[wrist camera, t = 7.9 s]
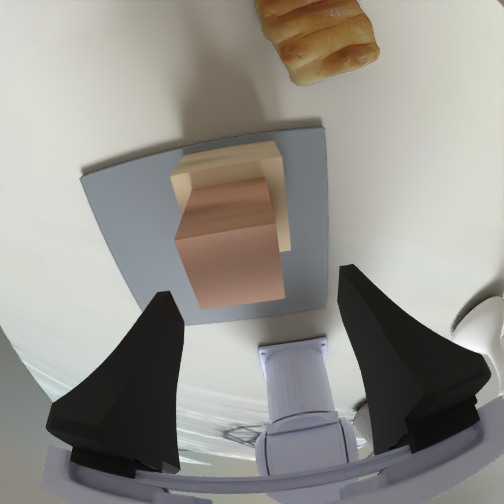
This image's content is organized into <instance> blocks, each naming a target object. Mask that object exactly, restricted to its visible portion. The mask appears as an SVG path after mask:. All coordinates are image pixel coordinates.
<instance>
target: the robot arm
mask: <svg viewBox="0 0 504 504" xmlns="http://www.w3.org/2000/svg"><path fill="white" fill-rule="evenodd" d="M337 302H338V305H339V309H340V313H341V317H342V321H343V324H344V326H345V329H346V332H347V334H348V337H349V340H350V342H351V345H352V347H353V350H354V353H355V355H356V358H357V361H358V364H359V367H360V370H361V374H362V379H363V383H364V387H365V392H366V397H367V403H368V408H369V415H370V421H371V429H372V438H373V449H374V456H372V457H369V458H365V459H362V460H358V449H357V443H356V437H355V433H354V430H353V426H352V424H351V422H350V421H349V420H347V419H346V418H345V417H343V418H340V419H339V417H338V412H337V411H335V408H334V404H333V399H332V394H331V390H330V385H329V381H328V376H327V372H326V367H325V361H326V352H327V343H328V341H327V338H325V337H323V338H317V339H311V340H305V341H299V342H292V343H285V344H278V345H271V346H263V347H260V348H258V353H259V357H260V361H261V365H262V369H263V373H264V377H265V381H266V385H267V395H268V408H269V420H270V424H267V425H266V428H267V432H262V433H261V434H260V436H259V437H258V438H257V441H256V450H255V452H256V464H257V469H258V473H259V475H260V476H257V477H256V476H255V477H195V476H181V475H171V474H176V473H177V472H179V471H180V462H179V454H178V445H177V431H176V392H177V383H178V376H179V370H180V363H181V357H182V351H183V344H184V323H185V321H184V319H183V317H182V315H181V313H180V311H179V309H178V307H177V305H176V303H175V300H174V298H173V296H172V294H171V292H170V291H161V292H157V293H156V294H155V296H154V297H153V298H152V300H151V301H150V303H149V304H148V305H147V307H146V308H145V310H144V311H143V313H142V314H141V315H140V317H139V318H138V320H137V321H136V322H135V324H134V325H133V327H132V328H131V329H130V331H129V332H128V333H127V334H126V336H125V337H124V338H123V340H122V341H121V342H120V344H119V345H118V346H117V347H116V348H115V350H114V351H113V352H112V353H111V354H110V355H109V356H108V357H107V359H106V360H105V361H104V362H103V363H102V364H101V365H100V366H99V367H98V368H97V369H96V370H95V371H93V372H92V373H91V374H90V375H89V376H88V377H87V378H86V379H85V380H84V381H82V382H81V383H80V384H79V385H78V386H76V387H75V388H74V389H72V390H71V391H70V392H68V393H67V394H66V395H64V396H63V397H61V398H60V399H58V400H57V401H55V402H54V403H52V406H51V409H50V413H49V417H48V420H47V424H46V429H47V431H48V432H50V433H51V434H52V435H54V436H55V437H57V438H59V439H60V440H62V441H64V442H66V443H67V444H69V445H71V446H72V447H73V449H72V452H71V451H69V450H66V449H64V448H61V447H58V446H55V445H52V444H49V445H48V450H47V454H46V459H45V464H44V470H43V476H42V482H41V488H42V489H44V490H46V491H48V492H50V493H52V494H54V495H56V496H58V497H60V498H62V499H64V500H66V501H68V502H70V503H72V504H212V500H209V499H201V498H196V497H193V496H185V495H177V494H171V492H170V491H169V490H174V491H183V492H195V493H214V494H249V493H265V494H266V496H267V497H269V498H270V499H272V500H274V501H276V502H278V503H280V504H425V503H427V502H429V501H431V500H433V499H435V498H437V497H438V496H440V495H442V494H444V493H446V492H448V491H449V490H451V489H453V488H454V487H456V486H458V485H459V484H461V483H463V482H464V481H466V480H467V479H469V478H470V477H472V476H473V475H475V474H476V473H478V472H479V471H480V470H482V469H484V468H485V467H486V466H488V465H489V464H490V463H492V462H493V461H495V460H496V459H497V458H499V457H500V456H501V455H502V454H504V400H503V398H502V396H498V397H497V398H495V399H493V400H492V401H490V402H488V403H487V404H485V405H484V406H482V407H481V408H479V409H478V410H476V407H475V404H476V403H477V399H476V396H475V394H477V392H479V390H481V388H482V387H483V386H484V385H485V384H486V383H487V382H488V381H489V379H490V377H491V371H490V369H489V367H488V365H487V363H486V361H485V359H484V358H483V356H482V355H481V354H479V353H476V352H474V351H471V350H469V349H466V348H464V347H462V346H460V345H458V344H456V343H454V342H452V341H450V340H448V339H446V338H444V337H442V336H440V335H439V334H437V333H435V332H434V331H432V330H431V329H429V328H427V327H426V326H424V325H423V324H421V323H420V322H418V321H417V320H416V319H414V318H413V317H411V316H410V315H409V314H407V313H406V312H405V311H404V310H402V309H401V308H400V307H399V306H398V305H396V304H395V303H394V302H393V301H392V300H391V299H390V298H388V297H387V296H386V295H385V294H384V293H383V292H382V291H381V290H380V289H379V288H378V287H377V286H376V285H374V284H373V283H372V282H371V281H370V280H369V279H368V278H367V277H366V276H365V275H364V274H363V273H362V272H361V271H360V270H359V269H358V268H357V267H356V266H355V265H354V264H350V265H345V266H340V269H339V285H338V298H337ZM379 471H380V472H379ZM154 472H157V473H154ZM376 472H379V473H378V474H377V476H374V477H370V478H367V479H364V480H361V481H357V480H358V479H357V478H358V477H362V476H366V475H369V474H372V473H376ZM162 473H167V474H162ZM338 499H340V500H338Z"/></svg>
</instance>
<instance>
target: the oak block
mask: <svg viewBox="0 0 504 504" xmlns="http://www.w3.org/2000/svg"><path fill="white" fill-rule="evenodd" d="M260 177H265V179H266V183H267V187H268V192H269V196H270V200H271V204H272V209H273V213H274V218H275V222H276V228H277V236H278V243H279V251H280V252H283V251H290V250H291V244H290V232H289V221H288V210H287V200H286V190H285V180H284V171H283V162H282V156H281V154H280V152H279V150H278V148H277V146H276V144H275V142H274V140H271V141H263V142H256V143H249V144H243V145H237V146H231V147H225V148H219V149H214V150H209V151H203V152H198V153H194V154H189V155H184V156H183V157H182V158H181V160H180V162H179V163H178V165H177V166H176V168H175V169H174V171H173V172H172V174H171V176H170V178H171V182H172V185H173V189H174V192H175V195H176V199H177V202H178V206H179V209H180V212H181V216H182V215H183V213H184V210H185V207H186V204H187V202H188V199H189V196H190V194H191V191H192V190H194V189H199V188H204V187H209V186H214V185H219V184H225V183H230V182H236V181H242V180H248V179H254V178H260Z"/></svg>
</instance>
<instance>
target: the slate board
mask: <svg viewBox="0 0 504 504" xmlns="http://www.w3.org/2000/svg"><path fill="white" fill-rule="evenodd" d="M271 140H274V142H275V144H276V146H277V148H278V150H279V152H280V154H281V156H282V162H283V171H284V180H285V190H286V200H287V210H288V221H289V232H290V244H291V250H290V251H283V252H280V259H281V266H282V274H283V283H284V291H285V298H283V299H277V300H270V301H264V302H257V303H250V304H243V305H235V306H228V307H220V308H212V309H204V310H201V308H200V306H199V303H198V301H197V298H196V296H195V294H194V291H193V289H192V286H191V284H190V281H189V279H188V276H187V274H186V271H185V269H184V266H183V263H182V261H181V258H180V256H179V253H178V250H177V248H176V245H175V242H174V239H175V236H176V233H177V230H178V227H179V224H180V221H181V218H182V216H181V212H180V209H179V206H178V202H177V199H176V195H175V192H174V189H173V185H172V182H171V178H170V176H171V174H172V172H173V171H174V169H175V168H176V166H177V165H178V163H179V162H180V160H181V158H182V157H183V156H184V155H189V154H194V153H198V152H203V151H209V150H214V149H219V148H225V147H231V146H237V145H243V144H249V143H256V142H263V141H271ZM79 179H80V181H81V184H82V187H83V189H84V192H85V194H86V197H87V200H88V202H89V205H90V207H91V209H92V212H93V214H94V217H95V219H96V221H97V224H98V226H99V228H100V230H101V233H102V235H103V237H104V239H105V241H106V244H107V246H108V248H109V250H110V252H111V254H112V256H113V258H114V260H115V262H116V264H117V266H118V268H119V270H120V272H121V274H122V276H123V278H124V280H125V282H126V284H127V286H128V287H129V289H130V291H131V293H132V295H133V297H134V298H135V300H136V302H137V304H138V305H139V307H140V309H141V311H142V312H143V311H144V310H145V308H146V307H147V305H148V304H149V303H150V301H151V300H152V298H153V297H154V296H155V294H156V293H157V292H161V291H170V292H171V294H172V296H173V298H174V300H175V303H176V305H177V307H178V309H179V311H180V313H181V315H182V317H183V319H184V321H185V323H184V326H189V325H200V324H210V323H220V322H229V321H238V320H247V319H255V318H262V317H270V316H277V315H284V314H291V313H297V312H304V311H310V310H316V309H322V308H326V298H327V274H328V180H327V156H326V139H325V128H324V127H323V126H320V127H307V128H296V129H287V130H278V131H270V132H262V133H255V134H248V135H241V136H235V137H229V138H224V139H218V140H213V141H208V142H202V143H198V144H193V145H188V146H184V147H179V148H175V149H171V150H166V151H162V152H158V153H154V154H151V155H147V156H143V157H140V158H136V159H132V160H129V161H125V162H122V163H119V164H116V165H112V166H109V167H106V168H103V169H100V170H97V171H94V172H91V173H88V174H85V175H83V176H81V177H80V178H79Z"/></svg>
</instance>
